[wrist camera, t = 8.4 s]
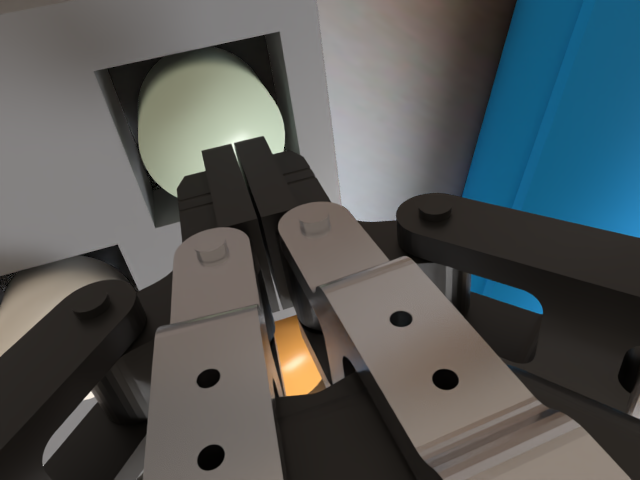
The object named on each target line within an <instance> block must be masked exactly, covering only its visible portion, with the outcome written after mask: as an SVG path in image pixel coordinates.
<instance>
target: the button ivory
mask: <svg viewBox="0 0 640 480" xmlns="http://www.w3.org/2000/svg"><path fill="white" fill-rule="evenodd" d="M110 279H116V280H122V281H126V282H128V283H129V281H128V280H127V279H126V277H125V276H124V275H123V274H122V273H121V272H120V271H118V270H117V269H116V268H114V267H113V266H111V265H109V264H107V263H105V262H103V261H100V260H97V259H94V258H90V257H85V256H78V255H77V256H73V257H69V258H66V259H62V260H58V261H54V262H51V263H47V264H43V265H40V266H36V267H32V268H29V269H25V270H21V271H19V272H18V273H17V274H16V275H15V276H14V277H13V278H12V279H11V281H10V282H9V284H8V286H7V288H6V290H5V293H4V296H3V299H2V302H1V305H0V357H1V356H2V355H3V354H4V353H5V352H6V351H7V350H8V349H9V348H10V347H11V346H13V345H14V344H15V343H16V342H17V341H18V340H19V339H20V338H21V337H22V336H24V335H25V334H26V333H27V332H28V331H29V330H30V329H31V328H32V327H33V326H34V325H36V324H37V323H38V322H39V321H40V320H41V319H42V318H43V317H44V316H45V315H47V314H48V313H49V312H50V311H51V310H52V309H53V308H54V307H55V306H56V305H57V304H59V303H60V302H61V301H62V300H63V299H64V298H65V297H67V296H68V295H69V294H71V293H72V292H74V291H76V290H77V289H79V288H81V287H83V286H86V285H88V284H91V283H94V282H98V281H102V280H110ZM129 284H130V283H129ZM93 397H94V395H93V393H92V392H90V393H89V394H88V395H87V396H86V397H85V399H84V400H87V399H91V398H93Z"/></svg>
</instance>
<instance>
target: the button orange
mask: <svg viewBox="0 0 640 480" xmlns="http://www.w3.org/2000/svg"><path fill="white" fill-rule="evenodd" d="M274 336H275V339H276V343H277V348H278V353H279V359H280V364H281V370H282V375H283V380H284V386H285V391H286V396H294V395H304V394H308V393H309V392H311V391H312V390H313V389H314V388H315V387H316V386H317V385H318V383H319V382H320V381H321V379H322V378H321V376H320V374H319V371H318V369H317V367H316V365H315V363H314V361H313V359H312V357H311V355H310V352H309V350H308V348H307V346H306V344H305V342H304V340H303V338H302V335H301V332H300V327H299V323H298V318H297V315H294V316H291V317H288V318H285V319H281V320H278V321H275V333H274Z"/></svg>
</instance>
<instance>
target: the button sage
mask: <svg viewBox="0 0 640 480" xmlns="http://www.w3.org/2000/svg"><path fill="white" fill-rule="evenodd" d="M260 136H264V137H265V139H266V141H267V143H268V145H269V147H270V149H271V151H272V153H273V154H276V153H280V152H283V151H284V144H285V129H284V123H283V119H282V116H281V113H280V111H279V108H278V107H277V105H276V103H275V101H274V100H273V98H272V97H271V95H270V94H269V92H268V91H267V90H266V88H265V87H264V85H263V84H262V82H261V81H260V79H259V78H258V76H257V75H256V73H255V72H254V71H253V70H252V68H251V67H250V66H249V65H248V64H247V63H246V62H244V61H243V60H242V59H241V58H239V57H238V56H236V55H234V54H232V53H231V52H228V51H226V50H223V49H220V48H216V47H211V46H209V47H204V48H200V49H195V50H190V51H186V52H181V53H176V54H172V55H167V56H165V57H163V58H162V59H161V60H159V61H158V62H157V63H156V64H155V65H154V66H153V67H152V68H151V70H150V71H149V72H148V74H147V75H146V77H145V79H144V81H143V83H142V85H141V89H140V92H139V98H138V143H139V150H140V154H141V157H142V160H143V163H144V165H145V167H146V169H147V170H148V172H149V174H150V175H151V177H152V178H153V179H154V180H155V181H156V182H157V183H158V184H159V185H160V186H161V187H162V188H163V189H164V190H166V191H167V192H169V193H170V194H172V195H173V196H175V197H177V187H178V186H179V184H180V182H181V181H182V179H183V178H184V176H187V175H191V174H195V173H199V172H203V171H206V170H205V166H204V161H203V157H202V152H201V151H202V150H206V149H210V148H215V147H219V146H223V145H227V144H232V147H233V150H234V153H235V155H236V151H235V147H234V143H235V142H239V141H243V140H248V139H252V138H256V137H260ZM236 158H237V155H236ZM237 161H238V159H237ZM238 164H239V163H238Z"/></svg>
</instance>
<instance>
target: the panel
mask: <svg viewBox="0 0 640 480" xmlns="http://www.w3.org/2000/svg"><path fill="white" fill-rule="evenodd" d="M260 35H265V38H266V44H267V49H268V54H269V60H270V65H271V70H272V76H273V81H274V87H275V92H276V97H277V103H278V108H279V111H280V113H281V116H282V119H283V123H284V129H285V146H286V151H288V150H291V151H293V152H295V153H297V154H299V155H301V156H303V157H304V158H305V160H306V161H307V163H308V165H309V166H310V169H312V171H313V173H314V174H315V177H316V178H317V179H318V181H319V183H320V184H321V186H322V188H323V189H324V191H325V192H326V194H327V196H328V197H329V199H330V201H331V202H332V203H336V204H339V205H341V206H342V203H341V195H340V186H339V178H338V170H337V162H336V154H335V146H334V138H333V130H332V121H331V113H330V105H329V97H328V89H327V81H326V73H325V64H324V56H323V48H322V40H321V32H320V24H319V16H318V8H317V0H0V276H3V275H6V274H10V273H14V272H17V271H21V270H25V269H29V268H32V267H36V266H40V265H43V264H47V263H51V262H54V261H58V260H62V259H66V258H69V257H73V256H77V255H80V254H84V253H88V252H92V251H95V250H99V249H103V248H106V247H110V246H114V245H117V244H118V246H119V248H120V251H121V253H122V255H123V257H124V259H125V261H126V264H127V266H128V268H129V270H130V272H131V275H132V277H133V279H134V281H135V283H136V285H137V288H138V290H139V291H140V290H142V289H144V288H146V287H148V286H150V285H152V284H154V283H156V282H157V281H159V280H161V279H162V278H164V277H165V276H167V275H168V274H169V273H170V272H172V271H173V260H174V254H175V252H176V250H177V248H178V247H179V246H180V245H181V244H182V235H181V226H180V217H179V207H178V198H177V197H175V196H173V195H172V194H170V193H169V192H167V191H166V190H164V189H163V188H161V189H157V190H153V189H152V186H151V184H150V181H149V178H148V176H147V173H146V171H145V168H144V165H143V163H142V160H141V157H140V155H139V152H138V149H137V147H136V144H135V141H134V139H133V136H132V133H131V131H130V128H129V125H128V123H127V120H126V117H125V115H124V112H123V109H122V107H121V104H120V102H119V99H118V96H117V94H116V91H115V88H114V86H113V83H112V80H111V78H110V75H109V72H108V70H107V68H111V67H115V66H120V65H125V64H129V63H134V62H139V61H143V60H148V59H153V58H157V57H162V56H167V55H172V54H176V53H181V52H186V51H190V50H195V49H200V48H204V47H209V46H214V45H218V44H223V43H228V42H232V41H237V40H242V39H246V38H251V37H256V36H260ZM271 276H272V275H271ZM272 280H273V278H272ZM273 284H274V281H273ZM274 288H275V292H276V296H277V300H278V305H279V309H280V311H278V312H274V313H272V314H273V318H274V322H275V321H278V320H281V319H285V318H288V317H291V316H294V315H297V314H296V311H295V309H294V307H291V308H287V309H284V310H283V308H282V305H281V302H280V299H279V296H278V293H277V290H276V287H275V284H274ZM3 296H4V292H3V290H2V289H1V288H0V305H1V302H2V299H3ZM324 389H326V386H325V384H324V382H323V380H322V379H321V381H320V382H319V383H318V385H317V386H316V387H315V388H314V389H313V390H312V391H311V392H309V393H308V394H313V393H317V392H320V391H322V390H324ZM97 402H98V401H97V400H96V398H95V397H93V398H91V399H87V400H83V401H82V402H81V403H80V404H79V405H78V407H77V408H76V409H75V410H74V411H73V412H72V414H71V415H70V416H69V417H68V418H67V419H66V420H65V422H64V423H63V424H62V425H61V426H60V427H59V428H58V430H57V431H56V432H55V433H54V434H53V436H52V437H51V438H50V440H49V441H48V443H47V445H46V447H45V450H44V453H43V460H42V463H43V465H45V464H46V462H47V461H48V460H49V459H50V458H51V456H52V455H53V454H54V453H55V452H56V450H57V449H58V448H59V447H60V446H61V444H62V443H63V442H64V441H65V440H66V439H67V437H68V436H69V435H70V434H71V433H72V431H73V430H74V429H75V428H76V427H77V425H78V424H79V423H80V422H81V421H82V419H83V418H84V417H85V416H86V415H87V414H88V412H89V411H90V410H91V409H92V408H93V406H94V405H95V404H96V403H97ZM143 471H144V469H143ZM143 471H142V472H141V473H140V475H141V474H142V473H143ZM140 475H139V476H140ZM139 476H138V477H139Z"/></svg>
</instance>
